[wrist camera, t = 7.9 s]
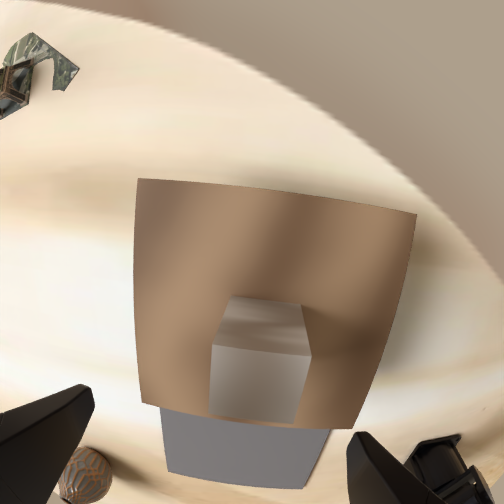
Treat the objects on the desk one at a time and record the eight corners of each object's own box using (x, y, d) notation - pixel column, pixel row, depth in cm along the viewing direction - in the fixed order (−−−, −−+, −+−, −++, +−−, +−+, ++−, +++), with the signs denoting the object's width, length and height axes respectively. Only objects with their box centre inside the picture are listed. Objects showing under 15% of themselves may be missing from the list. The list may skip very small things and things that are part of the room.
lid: (407, 212, 13) (473, 228, 8) (349, 418, 16) (366, 483, 10) (146, 178, 14) (81, 176, 8) (147, 392, 16) (113, 451, 11)
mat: (341, 395, 21) (342, 397, 21) (302, 486, 24) (302, 489, 24) (158, 371, 22) (157, 374, 21) (168, 469, 25) (168, 471, 25)
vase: (118, 456, 25) (90, 507, 17) (119, 479, 27) (97, 524, 18) (70, 431, 25) (37, 475, 17) (76, 457, 27) (50, 497, 18)
